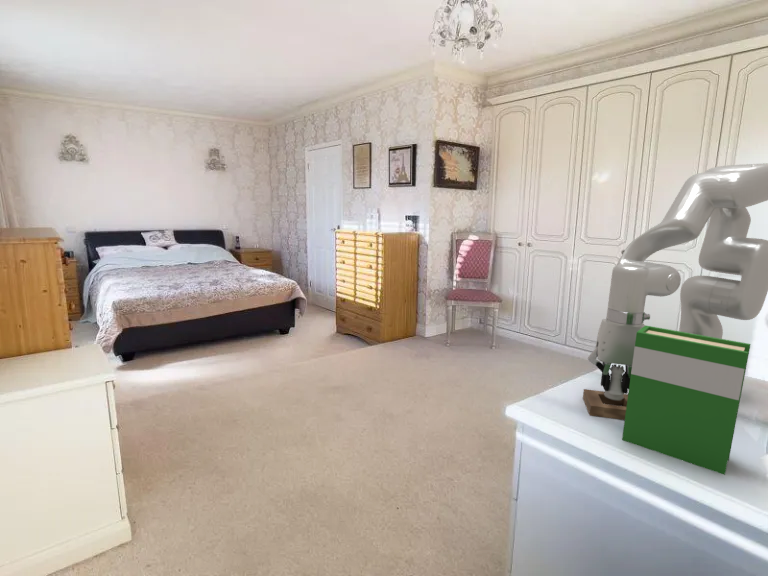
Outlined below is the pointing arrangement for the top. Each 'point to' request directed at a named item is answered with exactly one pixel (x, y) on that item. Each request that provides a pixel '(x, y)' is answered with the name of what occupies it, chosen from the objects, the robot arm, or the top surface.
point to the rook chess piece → (615, 383)
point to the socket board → (604, 405)
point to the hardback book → (685, 395)
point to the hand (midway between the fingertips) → (614, 389)
